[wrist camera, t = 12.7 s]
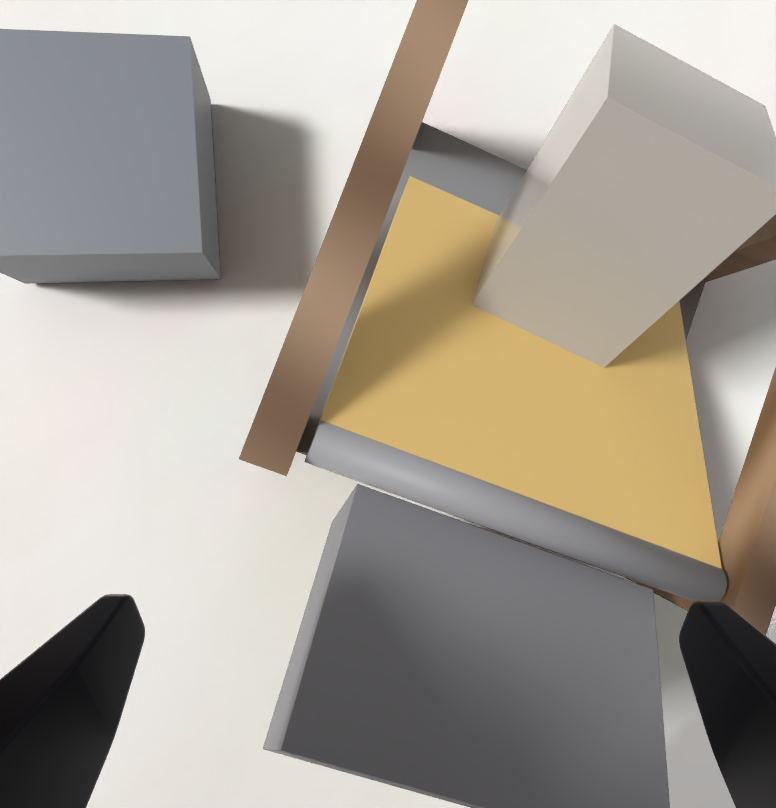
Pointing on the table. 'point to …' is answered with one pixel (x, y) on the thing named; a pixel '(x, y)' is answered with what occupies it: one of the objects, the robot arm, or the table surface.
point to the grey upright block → (629, 201)
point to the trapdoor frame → (491, 189)
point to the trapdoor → (495, 543)
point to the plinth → (105, 159)
